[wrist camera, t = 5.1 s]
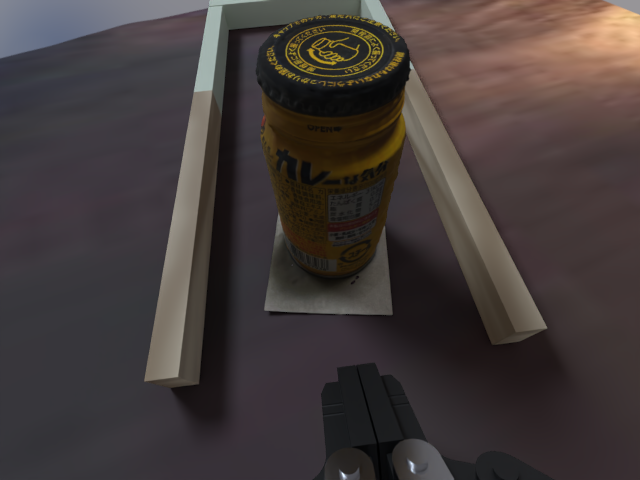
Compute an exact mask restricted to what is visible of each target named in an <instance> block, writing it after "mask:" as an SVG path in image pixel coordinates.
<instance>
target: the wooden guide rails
mask: <svg viewBox="0 0 640 480" xmlns="http://www.w3.org/2000/svg"><path fill="white" fill-rule="evenodd" d="M402 114H403V117H404V120H405V126H406V134H407V136H408V139H409V141H410V144H411V146H412V149H413V151H414V154H415V156H416V159H417V161H418V163H419V166H420V168H421V171H422V173H423V176H424V178H425V181H426V183H427V186H428V188H429V191H430V193H431V196H432V198H433V200H434V203H435V205H436V208H437V210H438V213H439V215H440V218H441V220H442V223H443V225H444V228H445V230H446V233H447V235H448V238H449V240H450V242H451V245H452V247H453V250H454V252H455V255H456V257H457V260H458V262H459V265H460V267H461V270H462V272H463V275H464V277H465V279H466V282H467V284H468V287H469V289H470V292H471V294H472V297H473V299H474V302H475V304H476V307H477V309H478V312H479V314H480V317H481V319H482V321H483V324H484V326H485V329H486V331H487V334H488V336H489V339H490V341H491V344H492V345H497V344H505V343H512V342H520V341H522V340H524V339H526V338H528V337H530V336H532V335H534V334H536V333H538V332H541V331H543V330H545V329H547V326H546V324H545V323H544V321H543V319H542V317H541V315H540V313H539V311H538V309H537V307H536V305H535V303H534V301H533V299H532V297H531V295H530V293H529V291H528V289H527V287H526V286H525V284H524V282H523V280H522V278H521V276H520V274H519V272H518V270H517V268H516V266H515V264H514V262H513V260H512V258H511V256H510V254H509V252H508V250H507V248H506V247H505V245H504V243H503V241H502V239H501V237H500V235H499V233H498V231H497V229H496V227H495V225H494V223H493V221H492V219H491V217H490V215H489V213H488V211H487V210H486V208H485V206H484V204H483V202H482V200H481V198H480V196H479V194H478V192H477V190H476V188H475V186H474V184H473V182H472V180H471V178H470V176H469V174H468V173H467V171H466V169H465V167H464V165H463V163H462V161H461V159H460V157H459V155H458V153H457V151H456V149H455V147H454V145H453V143H452V141H451V139H450V137H449V135H448V134H447V132H446V130H445V128H444V126H443V124H442V122H441V120H440V118H439V116H438V114H437V112H436V110H435V108H434V106H433V104H432V102H431V100H430V98H429V97H428V95H427V93H426V91H425V89H424V87H423V85H422V83H421V81H420V79H419V77H418V75H417V73H416V71H415V69H411V71H410V74H409V81H407V82H406V85H405V101H404V106H403V109H402ZM221 118H222V116H221V113H220V110H219V108H218V105H217V102H216V99H215V96H214V94H213V91H212V90H209V91H199V92H194V95H193V101H192V107H191V112H190V118H189V124H188V130H187V136H186V142H185V147H184V153H183V159H182V165H181V171H180V176H179V182H178V188H177V194H176V200H175V205H174V211H173V217H172V223H171V229H170V235H169V240H168V246H167V252H166V258H165V264H164V269H163V275H162V281H161V287H160V293H159V299H158V304H157V310H156V316H155V322H154V328H153V333H152V339H151V345H150V351H149V357H148V362H147V368H146V374H145V380H144V381H145V382H149V383H153V384H156V385H160V386H164V387H168V388H173V387H181V386H188V385H196V384H199V379H200V367H201V355H202V343H203V331H204V320H205V308H206V296H207V284H208V272H209V260H210V248H211V237H212V225H213V213H214V201H215V189H216V177H217V166H218V154H219V142H220V130H221Z"/></svg>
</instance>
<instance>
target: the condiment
mask: <svg viewBox="0 0 640 480" xmlns="http://www.w3.org/2000/svg"><path fill="white" fill-rule="evenodd" d="M410 71H411V68H410V57H409V50H408V48H407V45H406V43H405V41H404V39H403V38H402V37H401V36H399V35H398V34H397V33H396V32H395V31H394V30H393V29H391V28H389V27H388V26H385V25H383V24H382V23H380V22H376V21H375V20H371V19H368V18H363V17H358V16H352V15H337V14H331V15H318V16H314V17H308V18H303V19H300V20H297V21H295V22H292V23H289V24H288V25H287V26H285V27H283V28H280V29H278V30H277V31H275V32H274V33H273V34H271V35H270V36H269V38H268V39H267V40H266V41H265V42H264V43H263V45H262V46H261V47H260V48H259V55H258V59H257V68H256V75H257V82H258V84H259V85H260V86H261V89H262V91H263V92H262V105H263V112H264V114H265V115H264V117H263V120H262V124H261V135H260V136H261V141H262V148H263V151H264V155H265V158H266V162H267V166H268V171H269V174H270V178H271V182H272V187H273V191H274V194H275V199H276V203H277V208H278V212H279V213H278V220H277V228H276V235H275V242H274V247H273V253H272V261H271V268H270V276H269V282H268V288H267V294H266V302H265V309H264V311H280V312H305V313H328V314H363V315H393V312H392V299H391V290H390V278H389V265H388V256H387V246H386V234H385V222H386V218H387V210H388V205H389V202H390V199H391V193H392V191H393V186H394V181H395V179H396V178H397V175H398V166H399V163H400V158H401V155H402V150H403V145H404V141H405V137H406V126H405V120H404V117H403V114H402V109H403V106H404V101H405V85H406V82H407V81H409V74H410ZM292 264H293V266H291V265H292ZM356 276H359V278H358V279H355V277H356ZM353 280H355V283H354V284H351V282H352V281H353Z"/></svg>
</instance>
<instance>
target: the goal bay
mask: <svg viewBox="0 0 640 480" xmlns="http://www.w3.org/2000/svg"><path fill="white" fill-rule="evenodd" d="M331 14H337V15H352V16H358V17H363V18H368V19H371V20H375V21H376V22H380V23H382V24H383V25H385V26H388V27H389V28H391V29H393V30H394V28H393V26H392V24H391V22H390V21H389V19H388V17H387V15H386V13H385V11H384V9H383V7H382V5H381V3H380V1H379V0H210V2H209V8H208V14H207V19H206V25H205V31H204V37H203V43H202V49H201V54H200V60H199V66H198V72H197V78H196V83H195V89H194V92H199V91H209V90H212V91H213V94H214V96H215V99H216V102H217V105H218V108H219V110H220V113H221V116H222V106H223V94H224V83H225V71H226V59H227V47H228V35H229V30H232V29H242V28H252V27H263V26H273V25H283V24H289V23H292V22H295V21H297V20H300V19H303V18H308V17H314V16H318V15H331ZM394 31H395V30H394ZM410 68H411V69H414V67H413V65H412V63H411V61H410Z"/></svg>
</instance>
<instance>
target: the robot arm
mask: <svg viewBox="0 0 640 480" xmlns="http://www.w3.org/2000/svg"><path fill="white" fill-rule="evenodd" d="M337 371H338V381H339V382H332V383H326V384H325V386H324V389H323V391H322V393H321V397H322V409H323V421H324V433H325V445H326V461H325V464H324V467H323V469H322V470H321V472H320V473H319V474H318V475H317V476H316V477H315V478H314V479H313V480H554V479H552V478H550V477H549V476H547V475H545V474H543V473H541V472H540V471H538V470H536V469H534V468H533V467H531V466H529V465H527V464H525V463H524V462H522V461H520V460H518V459H516V458H515V457H513V456H511V455H508V454H506V453H502V452H496V451H490V452H486V453H483V454H482V455H480V456H479V457H478V459H477V461H476V464H471V463H466V462H460V461H455V460H451V459H448V458H446V457H444V456H442V455H440V454H439V452H438V451H437V450H436V449H435V448H434V447H433V446H432V445H430V444H429V443H428V442H427V440H426V438H425V436H424V434H423V431H422V429H421V427H420V425H419V423H418V421H417V418H416V416H415V414H414V412H413V410H412V408H411V405H410V404H409V401H408V399H407V397H406V396H405V392H404V390H403V388H402V386H401V384H400V382H399V381H397V380H396V379H395V378H394V377H393V376H392V375H384V376H380V374H379V372H378V369H377V366H376V364H375V363H368V364H360V365H356V366H355V365H353V366H346V367H338V368H337Z"/></svg>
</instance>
